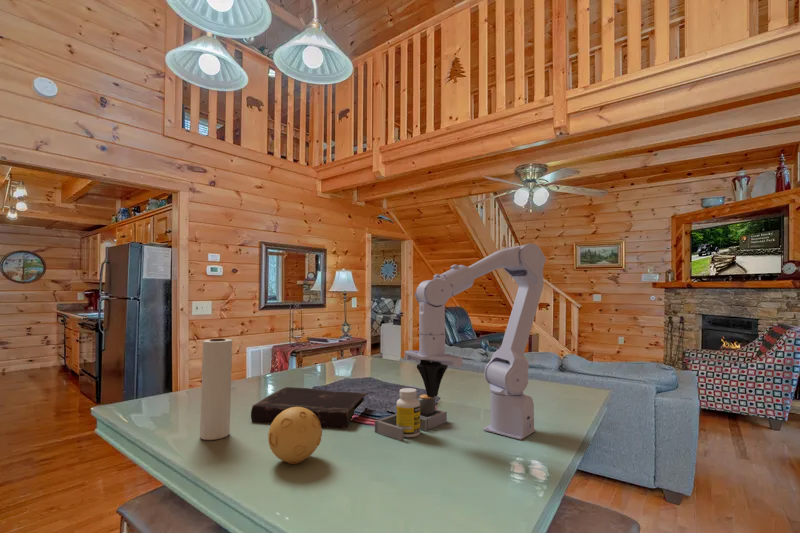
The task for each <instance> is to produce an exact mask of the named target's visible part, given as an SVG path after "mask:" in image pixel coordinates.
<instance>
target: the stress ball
mask: <svg viewBox="0 0 800 533" xmlns="http://www.w3.org/2000/svg"><path fill="white" fill-rule="evenodd" d="M267 436H268V437H267V439H268V440H267V441H268V445H269V448H270V450H271V451H272V453H273V454H274V455H275V457H276V458H278V459H279V460H280V461H283V462H286V463H287V464H291V465H296V464H300V463H302V461H304V460H306V459H308V458H310V457H311V456H312V454H314V452H315V451H317V448H318V447H319V445H320V444H321V442H322V436H323V430H322V427H321V424H320V421H319V419H318V418H317V416H316V415H315V414H314V413H313V412H312V411H310V410H308V409H306V408H303V407H291V408H288V409H286V410H284V411H282V412H281V413H280V414H278V415H277V417H276V418H275V419H274V420H273V422H272V423H270V427H269V430H268V434H267Z"/></svg>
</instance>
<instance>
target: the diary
mask: <svg viewBox="0 0 800 533" xmlns="http://www.w3.org/2000/svg"><path fill="white" fill-rule="evenodd" d="M367 395H369V393H367V392H352V391H351V392H350V391H349V392H348V391H335V390H334V391H333V390H322V389H314V388H310V387H309V388H308V387H293V386H291V387H290V386H284V387H283V388H281V389H279V390H277V391H274V393H271V394H269V395H268V396H266V397H264V398H263V399H262V400H260V401H258V402H256V403H255V404H252V407H251V411H250V419H251V422H252V423H263V424H264V423H266V424H272V422H273V420H274V419H275V418H276V417H277V415H278V414H280V413H281V412H282V411H284V410H286V409H288V408H291V407H303V408H306V409H308V410H310V411H312V412H313V413H314V414H315V415H316V416H317V418H318V419H319V421H320V424H321V428H331V429H342V430H343V429H344V430H345V429H346V430H348V429H349V428H348V427H349V424H350V423H351V422H352V421H351V419H352V416H353V415H354V410H355V409H356V408H357V407H358V406H359V405H360V404H361V403H362V402H363V401H365V397H366V396H367Z"/></svg>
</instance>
